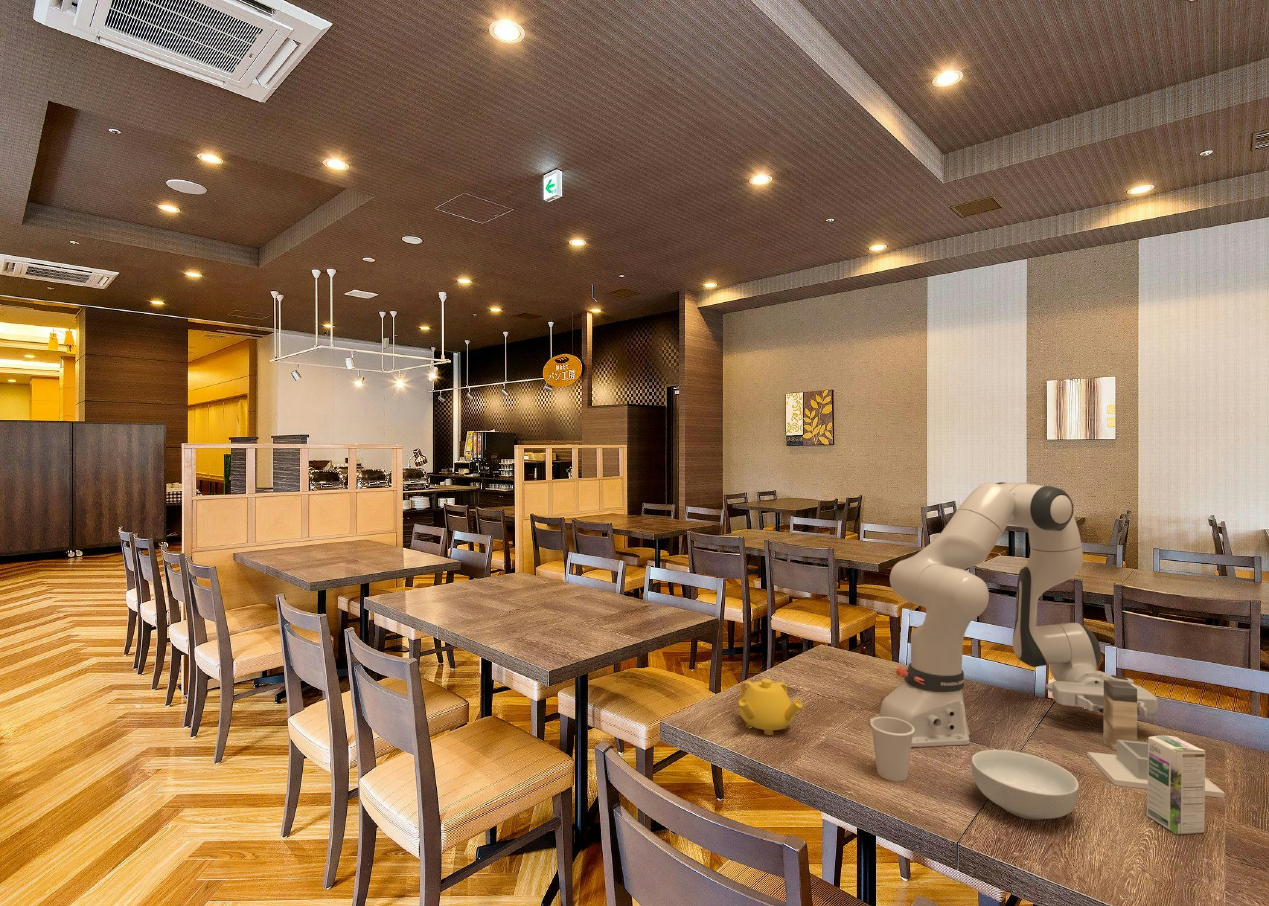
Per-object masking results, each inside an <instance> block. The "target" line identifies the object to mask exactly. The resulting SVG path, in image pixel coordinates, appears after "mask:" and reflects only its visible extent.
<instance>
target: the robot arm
mask: <svg viewBox="0 0 1269 906" xmlns="http://www.w3.org/2000/svg"><path fill="white" fill-rule="evenodd" d="M1075 518H1076V517H1075V516H1074V504H1073V501H1072V498H1071V497H1070V495H1069V494H1068V493H1067V491H1065V490H1063V489H1061V488H1059V487H1055V486H1052V485H1039V484H1033V483H1029V482H1027V483H1026V482H1004V481H1002V482H1001V481H1000V482H984V483H981V484H979V485H978V486H977V487H976V488H975V489H973V491H972V492H971V493H969V495H967V497H966V498H965V499H964V500H963V501H962V502H961V504H960V505H959V507H958V508H957V509H956V511H955V513H954V514H953V515H952V517H951V518H950V520H949V521H948V523H947V524H946V525H945V527H944V529H942V531H941V532H940V533H939V534H938V536H937V537H935V539H934V540H933V541H932V542H930V543H929V544H928V545H926V546H925V547H924V548H923V549H921V550H920V551H919V552H917V553H916V554H914V555H912V556H910V557H908V558H906V559H902V560H900V561H898V562H897V563H895V565H894V566H893V567H892V569H891V572H890V574H889V584H890V587H891V589H892V591H893V592H894V593H895V594H896V595H898V596H899V597H900V598H902V599H903V600H904V601H907V602H908V603H910V604H914V605H916V606H920V607H923V608H925V611H926V613H925V618H924V620H923V622H922V624H921V625H919V626H917V627H915V628H914V629H913V630H912V632H911V634H910V663H908V667H907V669H905V668H903V667H902V666H898V667H896V669H895V674H896V675H897V676H900V677H902V678H904V681H903V682H901V684H899V685H898V686H897V687H896V688H895V689H893V690H892V691H891V692H890V693H889V694H888V695H887V696H886V697H884V698H883V700H882V702H881V705H880V712H879V715H877V716H873V717H871V718H870V719H869V723H870V722H871V720H872V719H874V718H877V717H893V718H898V719H901V720H904V721H906V722H908V723H910V724H911V725H912V726H913V727H914V729H915V731H914V733H913V737H912V745H911V748H919V747H921V748H922V747H939V746H940V747H941V746H959V745H960V746H962V745H963V746H964V745H970V734H971V731H970V729H969V725H968V721H967V716H966V708H965V707H966V706H965V701H964V694H963V689H964V688H965V673H964V670H963V647H964V646H963V645H964V638H965V635H966V632H967V629H968V627H969V626H970V623H971V622H972V621H973V620H974V619H976V618H977V617H979V616H981V614H983V613H984V611H985V610H986V609H987V607H988V604H989V600H990V594H989V592H990V591H989V588H988V585H987V584H986V582H985V581H984V579H982V578H980V577H979V576H977V575H975V574H973V573H972V572H969V571H967V569H969V568H971V567H973V566H977V565H980V564H981V563H983V562H984V561H985V560H986V559H987V558H988V556H989V555H990V554H991V551H992V550H993V549H994V548H995V546H996V544H997V543H998V541H999V540H1000V538H1001V536H1003V534H1004V531H1005V530H1006V528H1007V527H1008V525H1010V526H1016V527H1019V528H1022V529H1023V528H1025V529H1028V540H1029V548H1030V549H1029V550H1030V552H1029V558H1028V560H1027V563H1026V564H1025V566H1024V567H1022V568H1020V570H1019V572H1018V577H1017V584H1016V585H1017V586H1016V602H1015V622H1014V629H1013V632H1012V633H1013V634H1012V648H1013V652H1014V654H1015V656H1016V658H1017V659H1018V660H1019V661H1021V662H1022V663H1024V664H1026V665H1027V666H1029V667H1031V668H1037V667H1043V666H1044V667H1045V666H1049V671H1050V673H1051V675H1052V677H1053V678H1054V681H1052V682H1051V683H1047V684H1045V685H1044V686H1045V689H1047V690H1048V691H1049V692H1051V695H1052V698H1053V699H1054V701H1055V702H1056V703H1057V704H1059V705H1062V706H1066V707H1067V706H1068V707H1078V708H1084V709H1086V710H1088V711H1089V712H1098V711H1099V710H1104V680H1111V681H1123V682H1128V683H1129V684H1131V685H1132V686H1134V687H1135V688H1136V689H1137V716H1141V717H1148V714H1152V715H1153V714H1154V715H1156V714H1157V713H1158V711H1159V700H1158V697H1156V696H1155V694H1153V693H1152V692H1151V691H1148V690H1147V689H1146V688H1145V687H1142V686H1140V685H1138V684H1136V683H1135V681H1134V680H1133V679H1132V678H1128V677H1125V676H1120V675H1113V674H1110V673H1107V672H1104V671H1101V670H1097V669H1098V668H1099V666H1100V664H1101V661H1102V652H1101V647H1100V643H1099V640H1098V639H1097V637H1096V635H1095V634H1094V633H1093V632H1092V631H1091V630H1090V629H1089V628H1088V627H1086V626H1085V625H1084V624H1082V623H1080V622H1067V623H1056V624H1049V625H1037V619H1038V618H1037V615H1038V603H1039V599H1040V597H1041V596H1042V595H1043V594H1044V593H1045V592H1047V591H1048V590H1050V589H1051V588H1053V587H1055V586H1057V585H1060V584H1062V583H1065V582H1066V581H1068V580H1071V579H1072V578H1073V577H1075V575H1076V574H1077V573H1078V572H1079V571H1080V570H1081V568H1082V567H1083V563H1084V556H1083V555H1084V554H1083V547H1082V541H1081V540H1082V539H1081V535H1080V530H1079V527H1078V524H1077V521H1076V519H1075ZM870 727H871V728H872V726H871V725H870Z"/></svg>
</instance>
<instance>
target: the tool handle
mask: <svg viewBox="0 0 1269 906" xmlns="http://www.w3.org/2000/svg"><path fill="white" fill-rule="evenodd" d="M1117 740H1127V741H1136V742H1138V715H1137V689H1136V688H1135V687H1134V686H1132V685H1131V684H1129V683H1128V682H1123V681H1111V680H1104V709H1103V742H1104V743H1105V744H1106V746H1108V745H1109V746H1108V747H1109V748H1110V749H1111V748H1112V749H1111V750H1112V751H1115V750H1116V752H1117Z"/></svg>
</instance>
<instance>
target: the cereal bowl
mask: <svg viewBox="0 0 1269 906" xmlns="http://www.w3.org/2000/svg"><path fill="white" fill-rule="evenodd" d="M970 764H971V773H972V777H973V780H974V783H975V784H976V786H977V788H978V789H979V791H980V792H981V793H982V794H983V795H984V796H985V797H986V798H988V799H989V800H990V801H991V802H992V803H994V804H995V805H998V806H999V807H1001V809H1003V810H1004V809H1005V811H1006V812H1007V813H1009V812H1010V814H1011V813H1012V814H1011V815H1014V816H1017V817H1019V818H1022V817H1023V819H1028V820H1034V821H1036V820H1044V819H1047V820H1049V819H1056V818H1057V819H1058V818H1061V817H1063V816H1064V817H1065V816H1066V815H1068V814H1070V813H1071V812H1072V811H1073V810H1074V808H1075V807H1076V806H1077V805H1078V800H1079V795H1080V784H1079V781H1078V780H1077V778H1076V777H1075V776H1074V775H1073V774H1072V773H1071V772H1070V771H1068V770H1067V769H1065V768H1064V767H1062V766H1060V765H1058V764H1056V763H1054V762H1052V761H1050V760H1048V759H1046V758H1045V759H1044V758H1042V757H1039V756H1036V755H1033V754H1029V753H1026V752H1020V751H1015V750H1007V749H987V750H981V751H978V752H976V753H975V754H973V756H972V757H971V763H970Z"/></svg>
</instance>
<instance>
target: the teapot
mask: <svg viewBox="0 0 1269 906" xmlns="http://www.w3.org/2000/svg"><path fill="white" fill-rule="evenodd" d="M746 686H748V688H747V690H746ZM740 694H741V697H740V698H739V699H738V705H739V715H740V716H741V718H742V720H743V721H744V722H745V723H746V724H745V725H746V726H748V727H754V728H755V729H758V730H763V734H764V733H765V734H767V735H772V734H774V731H778V730H787V729H788V726H789V724H791V723H792V721H793V720H794V717H795V715H796V714H797V713H798V712H799V711H800V710H801V709H802V708H803V706H804V705H803V703H802V702H801V701H800V700H799V699H795V700H794V701H793V702H792V701H791V699H790V697H789V695H788V686H787V684H786V683H785V682H783V681H777V682H773V681H772V679H770V678H762V679H760V680H758V681H755V682H752V681H750V680H745V681H743V682H742V683H741V684H740ZM746 726H745V727H746ZM748 727H747V728H748ZM786 728H787V729H786ZM765 734H764V735H765ZM767 735H766V736H767ZM772 736H773V735H772Z"/></svg>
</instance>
